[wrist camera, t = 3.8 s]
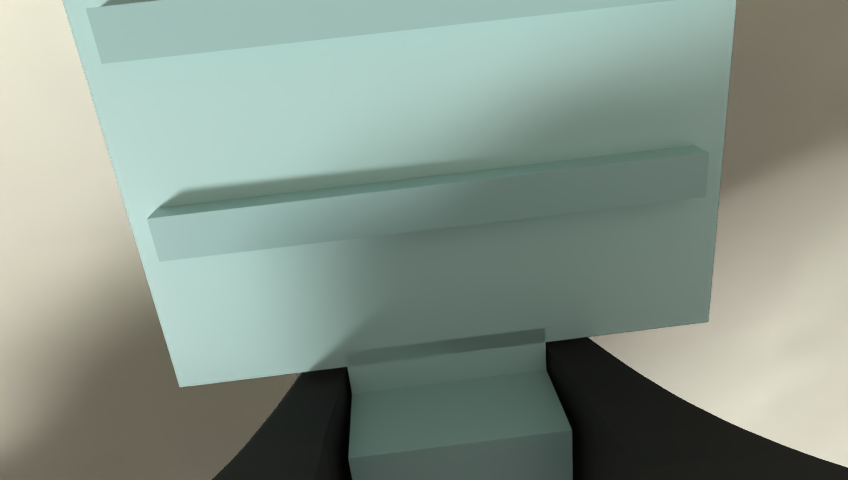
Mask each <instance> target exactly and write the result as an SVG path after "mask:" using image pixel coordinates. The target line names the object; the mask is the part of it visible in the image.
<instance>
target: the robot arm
mask: <svg viewBox="0 0 848 480" xmlns="http://www.w3.org/2000/svg"><path fill="white" fill-rule="evenodd" d="M546 370H547V373H548V375H549V377H550V380H551V382H552V384H553V387H554V389H555V391H556V394H557V396H558V398H559V401H560V403H561V405H562V408H563V410H564V412H565V415H566V417H567V419H568V422H569V424H570V426H571V429H572V464H573V480H848V468H847V467H844V466H841V465H838V464H835V463H832V462H829V461H825V460H822V459H819V458H816V457H814V456H811V455H808V454H805V453H803V452H800V451H797V450H794V449H791V448H789V447H786V446H784V445H781V444H779V443H776V442H774V441H771V440H769V439H766V438H764V437H762V436H759V435H757V434H754V433H752V432H749V431H747V430H744V429H742V428H740V427H738V426H736V425H733V424H731V423H729V422H727V421H725V420H722V419H720V418H718V417H716V416H714V415H712V414H710V413H708V412H706V411H704V410H702V409H701V408H699V407H697V406H695V405H693V404H691V403H689V402H687V401H685V400H683V399H681V398H679V397H678V396H676V395H674V394H672V393H671V392H669V391H667V390H666V389H664V388H662V387H661V386H659V385H657V384H656V383H654V382H652V381H651V380H649V379H647V378H646V377H644V376H642V375H641V374H639V373H638V372H636V371H635V370H633V369H632V368H630V367H629V366H627V365H626V364H624V363H623V362H621V361H620V360H618V359H617V358H616V357H614V356H613V355H611V354H610V353H609V352H607V351H606V350H604V349H603V348H602V347H600V346H599V345H597V344H596V343H595V342H593V341H592V340H591V339H589V338H588V337H583V338H575V339H567V340H559V341H551V342H546ZM351 404H352V391H351V385H350V379H349V374H348V368H347V367H341V368H333V369H325V370H316V371H308V372H301V374H300V375H299V377H298V378H297V380H296V381H295V383H294V384H293V385H292V387H291V388H290V390H289V391H288V392H287V394H286V395H285V396H284V398H283V399H282V400H281V402H280V403H279V405H278V406H277V407H276V409H275V410H274V411H273V413H272V414H271V415H270V416H269V418H268V419H267V420H266V421H265V422H264V424H263V425H262V426H261V427H260V428H259V430H258V431H257V432H256V433H255V434H254V436H253V437H252V438H251V439H250V441H249V442H248V443H247V444H246V445H245V446H244V448H243V449H242V450H241V451H240V452H239V453H238V454H237V455H236V456H235V457H234V459H233V460H232V461H231V462H230V463H229V464H228V465H227V466H226V467H225V468H224V469H223V470H222V471H221V472H219V473H218V474H217V475H216V476H215V477H214V478H213V479H212V480H352V476H351V470H350V465H349V460H348V455H349V438H350V421H351Z"/></svg>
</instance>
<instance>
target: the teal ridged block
mask: <svg viewBox="0 0 848 480" xmlns="http://www.w3.org/2000/svg"><path fill="white" fill-rule="evenodd" d="M62 1H63V4H64V7H65V11H66V14H67V17H68V20H69V24H70V27H71V30H72V34H73V37H74V40H75V44H76V47H77V50H78V53H79V57H80V60H81V63H82V67H83V70H84V73H85V77H86V80H87V83H88V86H89V90H90V93H91V96H92V100H93V103H94V106H95V110H96V113H97V116H98V119H99V123H100V126H101V129H102V133H103V136H104V139H105V143H106V146H107V149H108V152H109V156H110V159H111V162H112V166H113V169H114V172H115V176H116V179H117V182H118V185H119V189H120V192H121V195H122V199H123V202H124V205H125V208H126V212H127V215H128V218H129V222H130V225H131V228H132V232H133V235H134V238H135V241H136V245H137V248H138V251H139V255H140V258H141V261H142V265H143V268H144V271H145V274H146V278H147V281H148V284H149V288H150V291H151V294H152V298H153V301H154V304H155V307H156V311H157V314H158V317H159V321H160V324H161V327H162V331H163V334H164V337H165V340H166V344H167V347H168V350H169V354H170V357H171V360H172V363H173V367H174V370H175V373H176V377H177V380H178V383H179V387H187V386H195V385H203V384H211V383H219V382H228V381H236V380H244V379H252V378H260V377H268V376H276V375H284V374H292V373H300V372H308V371H316V370H325V369H333V368H341V367H347V368H348V374H349V379H350V385H351V391H352V404H351V421H350V438H349V455H348V460H349V465H350V470H351V476H352V480H573V464H572V429H571V426H570V424H569V422H568V419H567V417H566V415H565V412H564V410H563V408H562V405H561V403H560V401H559V398H558V396H557V394H556V391H555V389H554V387H553V384H552V382H551V380H550V377H549V375H548V373H547V370H546V342H551V341H559V340H567V339H575V338H583V337H591V336H599V335H607V334H615V333H623V332H631V331H640V330H648V329H656V328H664V327H672V326H680V325H688V324H696V323H704V322H708V321H709V309H710V298H711V286H712V275H713V263H714V252H715V241H716V229H717V218H718V206H719V195H720V183H721V172H722V160H723V149H724V137H725V126H726V114H727V103H728V91H729V80H730V69H731V57H732V46H733V34H734V23H735V11H736V0H62Z"/></svg>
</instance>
